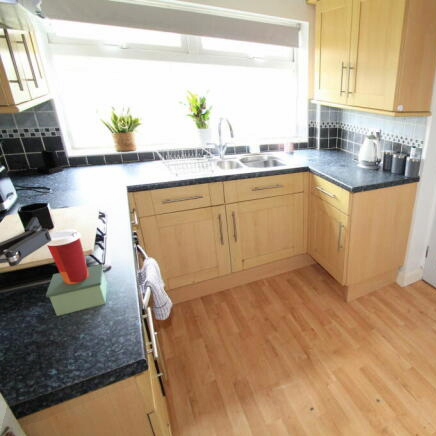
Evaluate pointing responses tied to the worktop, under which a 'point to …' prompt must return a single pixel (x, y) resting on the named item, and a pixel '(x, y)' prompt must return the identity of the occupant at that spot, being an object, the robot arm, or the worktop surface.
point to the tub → (78, 292)
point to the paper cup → (68, 255)
